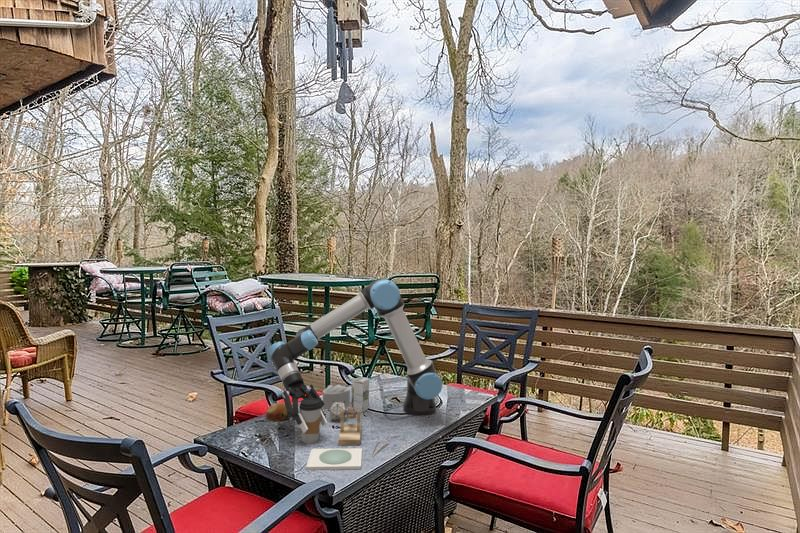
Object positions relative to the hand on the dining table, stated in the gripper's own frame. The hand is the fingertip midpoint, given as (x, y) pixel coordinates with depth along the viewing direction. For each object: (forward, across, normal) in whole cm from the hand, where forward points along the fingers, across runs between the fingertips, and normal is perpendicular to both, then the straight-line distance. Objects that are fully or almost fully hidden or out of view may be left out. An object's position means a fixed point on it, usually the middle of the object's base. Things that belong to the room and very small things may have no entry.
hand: (315, 427), depth 173 cm
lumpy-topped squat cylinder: (-15, -33, -24) cm, 44 cm away
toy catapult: (+7, -14, -1) cm, 15 cm away
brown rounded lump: (-19, -6, -27) cm, 34 cm away
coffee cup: (+2, 0, -6) cm, 7 cm away
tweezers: (+20, -10, +11) cm, 25 cm away
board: (+16, +4, +8) cm, 18 cm away
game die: (-4, -21, -12) cm, 25 cm away
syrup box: (-6, -36, -14) cm, 39 cm away
